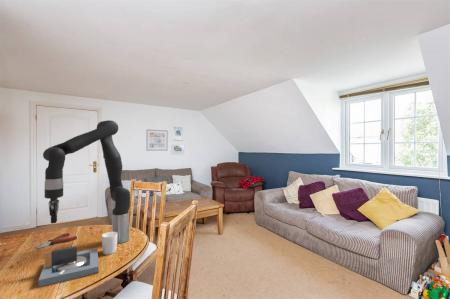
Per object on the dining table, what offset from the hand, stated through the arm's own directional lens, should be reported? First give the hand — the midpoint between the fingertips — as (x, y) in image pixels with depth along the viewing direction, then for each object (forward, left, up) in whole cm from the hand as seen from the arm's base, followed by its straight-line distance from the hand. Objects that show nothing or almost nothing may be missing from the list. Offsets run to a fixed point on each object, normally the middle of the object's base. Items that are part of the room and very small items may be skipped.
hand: (54, 222), depth 113 cm
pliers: (+2, -33, -22) cm, 40 cm away
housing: (-8, +9, -21) cm, 24 cm away
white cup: (-25, -1, -21) cm, 33 cm away
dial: (-6, +9, -20) cm, 23 cm away
